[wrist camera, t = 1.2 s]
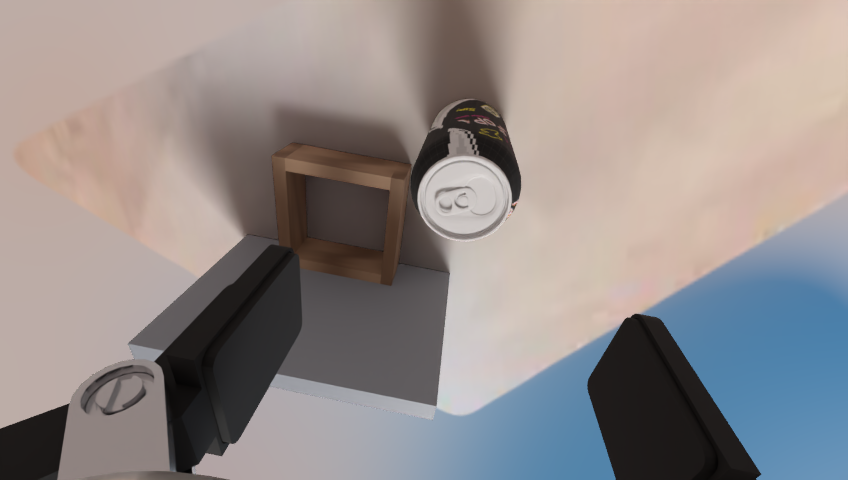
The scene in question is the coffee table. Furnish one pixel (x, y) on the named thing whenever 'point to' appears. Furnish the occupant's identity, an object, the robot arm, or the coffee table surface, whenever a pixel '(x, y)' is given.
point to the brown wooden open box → (346, 168)
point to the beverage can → (466, 172)
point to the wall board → (337, 333)
